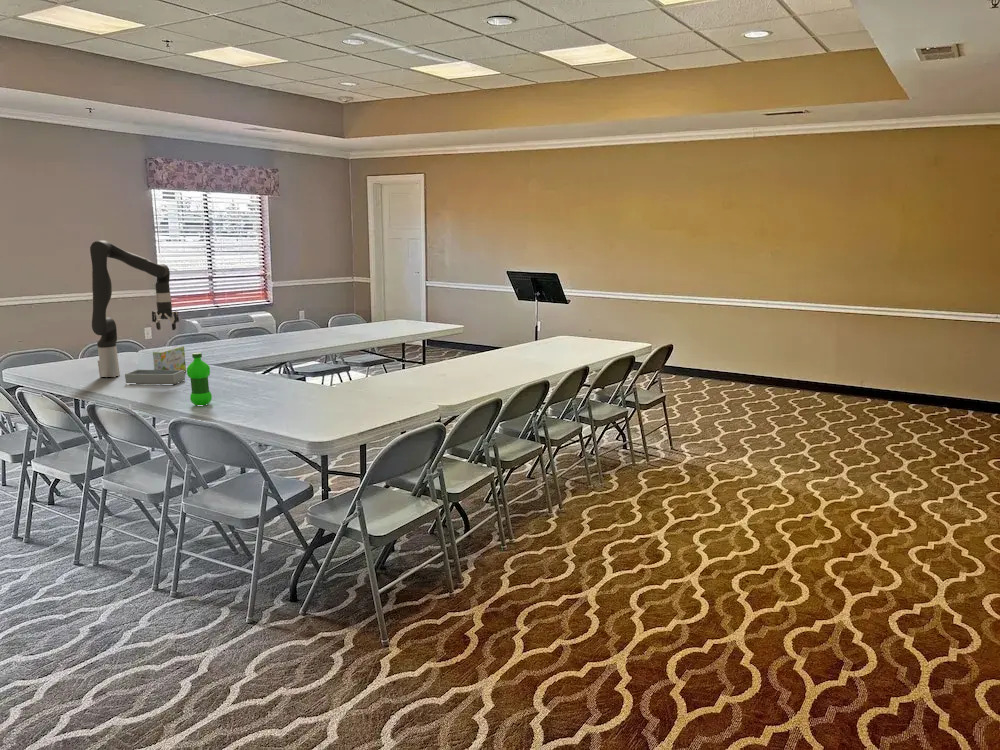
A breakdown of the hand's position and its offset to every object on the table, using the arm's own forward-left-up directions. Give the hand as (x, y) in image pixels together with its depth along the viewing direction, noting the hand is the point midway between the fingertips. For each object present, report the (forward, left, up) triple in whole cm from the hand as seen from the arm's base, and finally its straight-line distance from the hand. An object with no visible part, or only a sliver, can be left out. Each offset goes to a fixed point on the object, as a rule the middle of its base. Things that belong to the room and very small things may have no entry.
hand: (166, 329), depth 412 cm
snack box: (0, 0, -26) cm, 26 cm away
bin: (+2, -19, -26) cm, 32 cm away
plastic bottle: (+49, -64, -26) cm, 85 cm away
